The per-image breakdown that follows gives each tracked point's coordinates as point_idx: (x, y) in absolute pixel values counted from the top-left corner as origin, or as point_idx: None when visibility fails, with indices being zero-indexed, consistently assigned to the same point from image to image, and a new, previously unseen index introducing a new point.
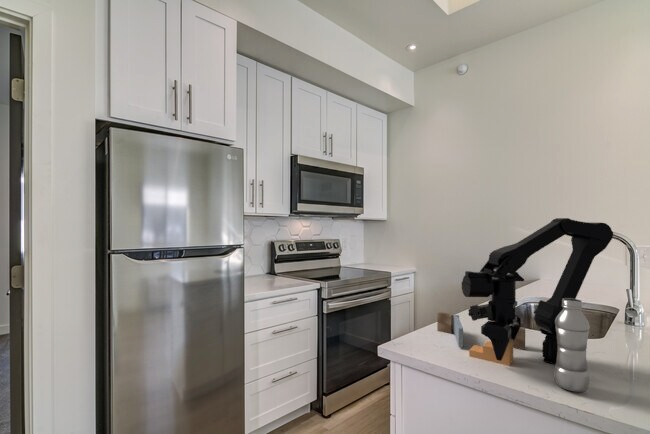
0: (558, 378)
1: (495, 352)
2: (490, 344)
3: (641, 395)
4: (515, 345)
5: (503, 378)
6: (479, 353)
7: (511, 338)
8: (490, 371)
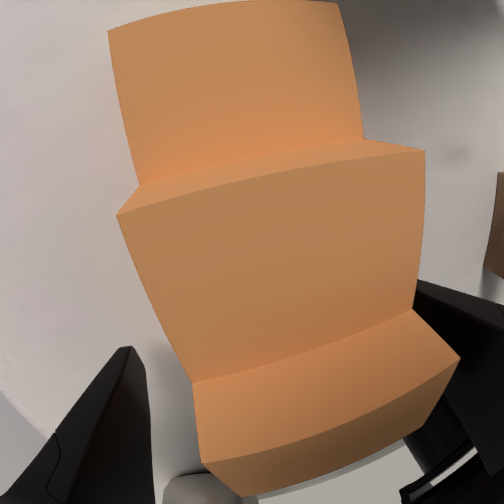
0: (164, 502)
1: (87, 400)
2: (295, 260)
3: (296, 489)
4: (501, 236)
5: (39, 384)
6: (134, 143)
7: (456, 388)
8: (27, 322)
